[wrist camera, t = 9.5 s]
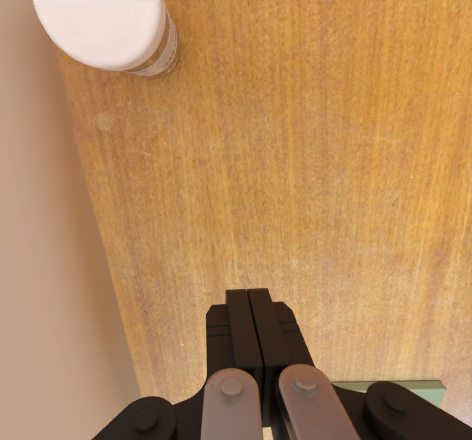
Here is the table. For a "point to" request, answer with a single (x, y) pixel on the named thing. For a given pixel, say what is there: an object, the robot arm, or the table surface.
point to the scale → (424, 389)
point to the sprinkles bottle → (114, 34)
